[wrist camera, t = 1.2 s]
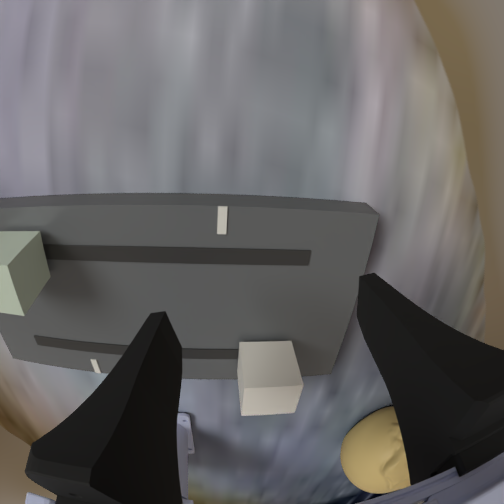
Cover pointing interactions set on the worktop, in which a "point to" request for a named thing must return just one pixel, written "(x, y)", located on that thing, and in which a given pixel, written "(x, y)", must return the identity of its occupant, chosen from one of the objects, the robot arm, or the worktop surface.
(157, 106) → the worktop surface
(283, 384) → the cream fader
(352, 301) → the mixer console
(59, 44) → the worktop surface
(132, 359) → the robot arm
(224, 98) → the worktop surface
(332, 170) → the worktop surface
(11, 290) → the sage fader
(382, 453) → the sculpture
